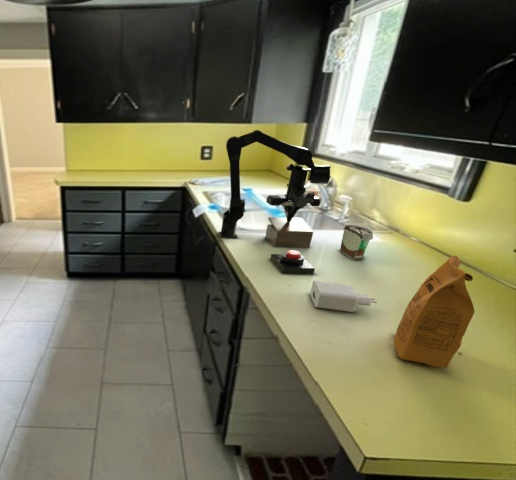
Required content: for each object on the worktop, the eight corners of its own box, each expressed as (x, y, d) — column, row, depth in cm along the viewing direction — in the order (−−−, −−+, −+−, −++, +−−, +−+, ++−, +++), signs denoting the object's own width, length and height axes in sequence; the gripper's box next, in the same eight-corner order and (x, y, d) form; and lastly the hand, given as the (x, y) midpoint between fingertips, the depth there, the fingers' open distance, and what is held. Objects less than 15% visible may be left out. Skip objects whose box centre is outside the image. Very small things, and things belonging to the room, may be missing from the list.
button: (284, 254, 125) (285, 249, 124) (296, 254, 125) (297, 250, 124) (289, 259, 121) (290, 254, 120) (301, 259, 121) (302, 254, 120)
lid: (267, 218, 150) (268, 217, 149) (300, 219, 149) (301, 217, 148) (277, 232, 139) (278, 230, 139) (313, 233, 139) (313, 231, 138)
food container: (373, 262, 128) (382, 235, 124) (356, 261, 128) (364, 235, 124) (353, 249, 140) (361, 224, 135) (337, 249, 140) (344, 224, 135)
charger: (379, 317, 95) (316, 308, 98) (367, 300, 103) (309, 293, 107) (384, 301, 93) (320, 293, 96) (372, 286, 101) (313, 279, 105)
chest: (265, 237, 152) (267, 224, 150) (297, 237, 152) (300, 224, 149) (274, 246, 142) (277, 233, 139) (309, 247, 141) (313, 233, 139)
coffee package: (443, 346, 83) (485, 258, 74) (451, 376, 74) (499, 280, 65) (391, 332, 88) (424, 248, 79) (392, 358, 79) (429, 267, 70)
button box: (270, 259, 130) (272, 249, 128) (298, 260, 130) (300, 249, 128) (282, 273, 119) (284, 262, 117) (313, 274, 119) (316, 263, 117)
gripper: (279, 186, 132) (271, 227, 138) (332, 187, 131) (321, 228, 138) (269, 180, 142) (262, 219, 148) (318, 181, 141) (308, 220, 148)
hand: (288, 221), depth 145 cm, fingers closed, pressing on lid
